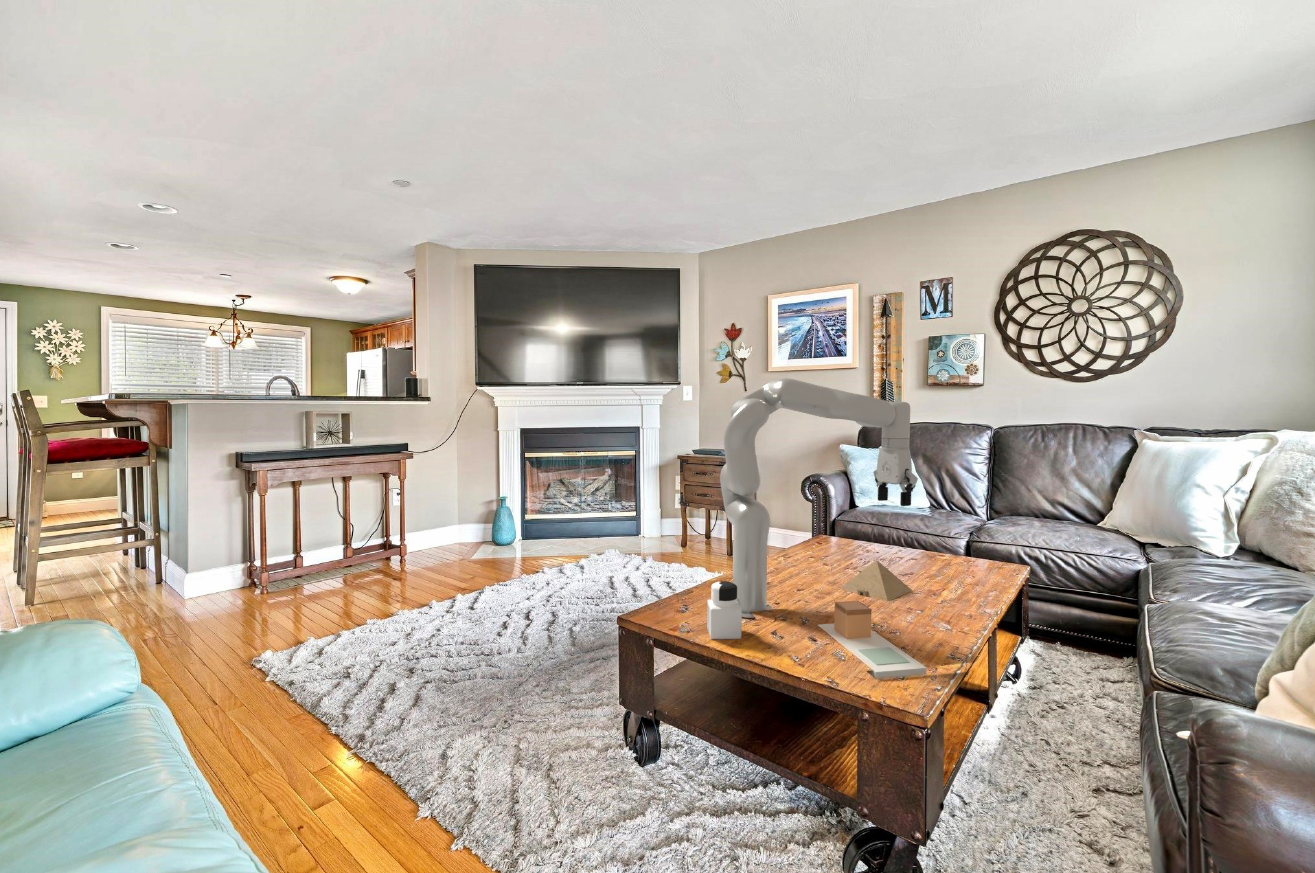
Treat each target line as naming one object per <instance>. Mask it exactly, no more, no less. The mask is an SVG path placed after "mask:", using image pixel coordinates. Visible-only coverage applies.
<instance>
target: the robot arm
mask: <svg viewBox="0 0 1315 873" xmlns="http://www.w3.org/2000/svg"><path fill="white" fill-rule="evenodd" d="M780 409H787V410H791V411H794V412H798V413H803V414H806V415H812V416H815V417H819V418H825V419H832V420H833V419H834V420H843V421H844V420H846V421H852V422H856V424H857V425H859V426H862V427H867V428H881V447H880V448H879V451H878V455H877V457H878V458H877V462H876V463H877V464H876V469H875V470H874V471H873V476H874V481H875V483H876V488H877V501H878V502H884V501H886V502H887V501H888V499H889V487H888V484H890V485H899V487H900V488H901V491H900V498H899V499H900V507H910V506H911V505H912V492H914V489H915V487H916V484H917V482H918V480H919V478H918V477H917V476H916V475H915V474H914V473H913V467H912V466H913V465H912V455H911V449H910V438H911V437H910V436H911V404H910V403H909V402H907V401H887V400H884V399H881V398H877V397H872V396H868V395H863V394H860V393H859V394H858V393H854V392H849V391H844V390H840V389H838V388H837V389H836V388H830V387H826V386H823V385H822V386H821V385H817V384H814V383H810V382H806V381H802V380H799V379H798V380H797V379H793V378H788V377H786V378H777V379H773V380H771V381H769V382H768V383H766V384H764V385H762V386H761V387H759V388H756V390H754V391H752V392H750V393H749V394H746V395H745V396H743V397H742V398H740V399H738V400H737V401H736V402H735V403H733V405H732V407H731V410H730V419H729V421H728V423H727V425H726V429H725V431H724V436H723V448H724V455H725V464H724V465H723V466H722V468H721V471H720V474H719V475H720V476H719V480H720V489H721V495H722V500H723V505H724V511H725V515H726V518H727V520H728V521H729V522H730V524H731V525H733V526H734V536H733V543H732V544H733V545H732V583H734V584H735V585H736V586H737V601H738V603H739V605H740V607H741V609H742V618H745V619H747V618H748V619H756V616H755V615H754V614H752V613H753V612H755V613H756V612H762V611H771V610H773V607H772V605H770V604H769V603H767V595H768V594H767V593H768V592H767V591H768V588H767V587H768V540H769V532H770V526H771V525H770V523H771V521H770V520H771V518H770V517H771V516H770V513H769V511H768V509H767V508H766V507H765V506H764V505H763V503H761V502H760V501H758V500H756V499H755V493H757V491H759V488H760V486H761V477H760V476H761V475H760V470H759V466H758V459H757V452H756V437H757V435H758V432H759V430H761V428H762V427H764V425H766V423H767V422H768V420H769V418H770V415H772V414H773V413H774V412H776V411H778V410H780ZM751 612H752V613H751Z"/></svg>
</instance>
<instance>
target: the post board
mask: <svg viewBox="0 0 1315 873" xmlns="http://www.w3.org/2000/svg"><path fill="white" fill-rule="evenodd" d="M817 626H818V628H819V627H820V628H821V629H822V630H823V631H824V632H826V633H827V634H828V635H829V636H831V637H832V638H833V639H834V640H835V641H837V643H839V644H840V645H842V647H844V648H845V649H846V650H848V651H849V652H850V653H851V654H852V655H854V656H855V658H858V659H859V660H860V661H861V662H863V663H864V664H865V665H866V666H867V667H868V668H870V669H871V670H866V672H867V674H869V675H870V676H871V677H872V678H874V679H875V680H877V679H878V680H879V679H891V678H890V677H892V678H902V677H904V678H905V677H911V676H910V675H916V676H926V675H927V669H928V668H927V667H926V666H925V665H924V664H922V663H920V662H919V661H917V660H916V659H914V658H913V657H912V656H910V655H909V654H907V653H906V652H904V651H903V650H902V649H900V648H899V647H897V645H896V646H895V645H894V644H893V643H891V642H890V641H888V640H887V639H886V638H884V637H882V636H881V635H880V634H878V632H875V631H874V630H873V629H871V637H868V638H854V639H846V638H845V637H843V636H842V635H841V634H840V633H838V632H837V631H836V630H835V629H834V623H823V624H821V623H820V624H817ZM925 674H926V675H925Z"/></svg>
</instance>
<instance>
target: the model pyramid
mask: <svg viewBox="0 0 1315 873" xmlns="http://www.w3.org/2000/svg"><path fill="white" fill-rule="evenodd" d="M839 590H841V591H846V592H850V593H853V594H857V596H858V595H859V596H860V595H862V596H863V597H869V598H873V599H877V600H881V601H885V602H890V601H892V600H894V599H896V598H898V597H902V596H904V595H906V594H908V593H910V592H912V591H913V590H912V588H910V587H909V585H907V584H906V583H904V582H903V581H902V580H901V579H899V577H897V575H896V574H894V573H893V572H892V571H890V570H889V569H888V568H887V567H886V566H885V565H884V564H882V562H880V561H879V560H877V559H876V560H874V562H872V563H871V564H869V566H867V567H866V568H864V569H863V570H861V572H859V573H858V574H857V575H855V576H854V577H853V578H851V579H850V580H849V581H848V582H847V583H845V584H844V585H843V586H842V587H840V588H839Z"/></svg>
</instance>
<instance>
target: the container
mask: <svg viewBox="0 0 1315 873" xmlns="http://www.w3.org/2000/svg"><path fill="white" fill-rule="evenodd" d="M710 594H711V596H710V597H711V599H707V604H706V605H707V610H706V612H707V613H706V617H707V619H706V620H707V621H706V622H707V623H706V627H707V631H708V634H709V638H710V639H711V640H741V639H742V620H743V617H742V609H741V607H740V605H739V603H738V601H737V586H736V585H735V584H734V583H733V581H732V582H731V581H727V580H725V581H724V580H719V581H717V582H716V581H715V582H714V583H712V584H711V592H710Z"/></svg>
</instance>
